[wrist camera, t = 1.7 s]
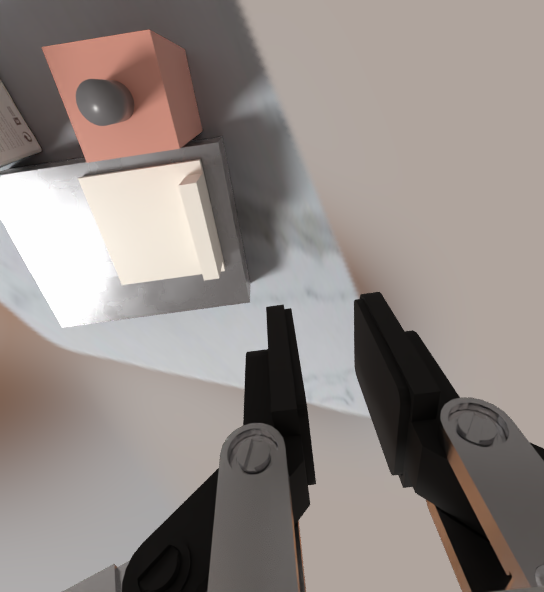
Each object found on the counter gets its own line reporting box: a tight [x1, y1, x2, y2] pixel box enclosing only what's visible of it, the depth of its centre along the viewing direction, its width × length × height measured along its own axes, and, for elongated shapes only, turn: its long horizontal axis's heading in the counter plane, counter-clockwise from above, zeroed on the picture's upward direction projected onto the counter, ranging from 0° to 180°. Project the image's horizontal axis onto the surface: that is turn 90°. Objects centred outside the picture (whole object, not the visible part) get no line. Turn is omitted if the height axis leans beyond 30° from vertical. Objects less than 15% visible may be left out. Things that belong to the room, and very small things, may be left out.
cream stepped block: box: [78, 159, 225, 285], centre depth 22 cm, size 8×8×3 cm
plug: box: [42, 29, 202, 163], centre depth 18 cm, size 4×4×10 cm
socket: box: [0, 137, 250, 328], centre depth 25 cm, size 12×15×3 cm
